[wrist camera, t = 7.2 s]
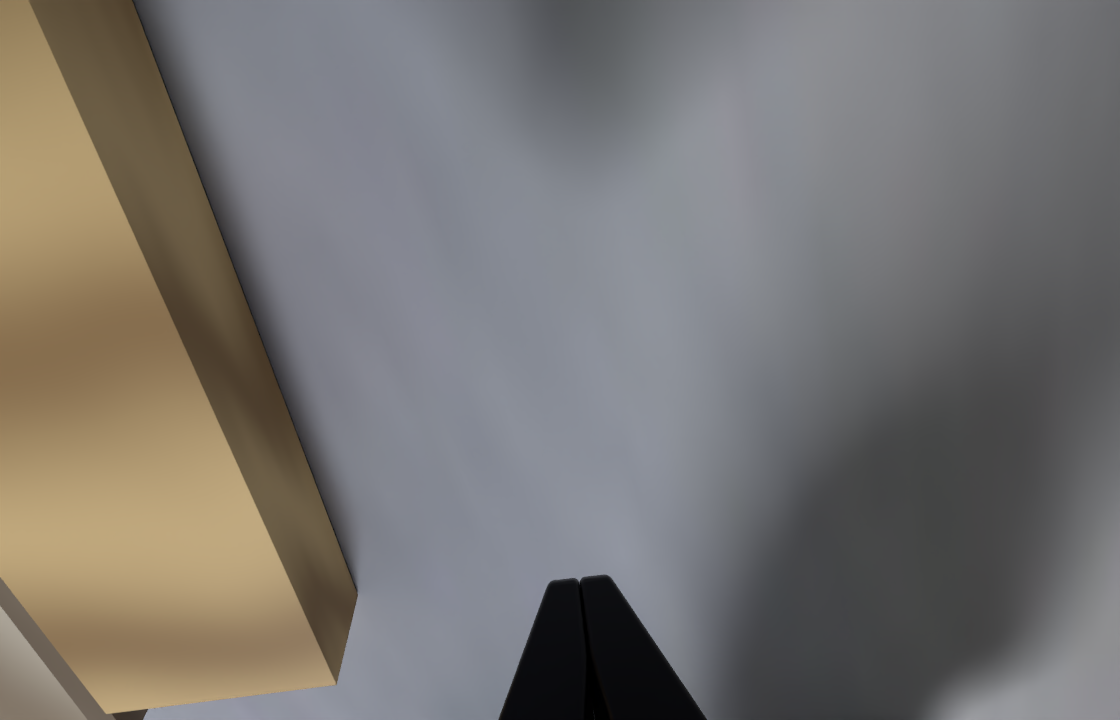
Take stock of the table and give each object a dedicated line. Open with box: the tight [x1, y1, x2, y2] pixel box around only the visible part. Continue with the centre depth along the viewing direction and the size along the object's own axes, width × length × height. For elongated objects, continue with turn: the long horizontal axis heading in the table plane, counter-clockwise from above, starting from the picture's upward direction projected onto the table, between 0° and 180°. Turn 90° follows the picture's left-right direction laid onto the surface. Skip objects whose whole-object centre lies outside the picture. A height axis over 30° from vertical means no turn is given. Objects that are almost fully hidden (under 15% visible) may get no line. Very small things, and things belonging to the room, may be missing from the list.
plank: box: [0, 0, 358, 714], centre depth 11 cm, size 17×5×3 cm, turn 6°
